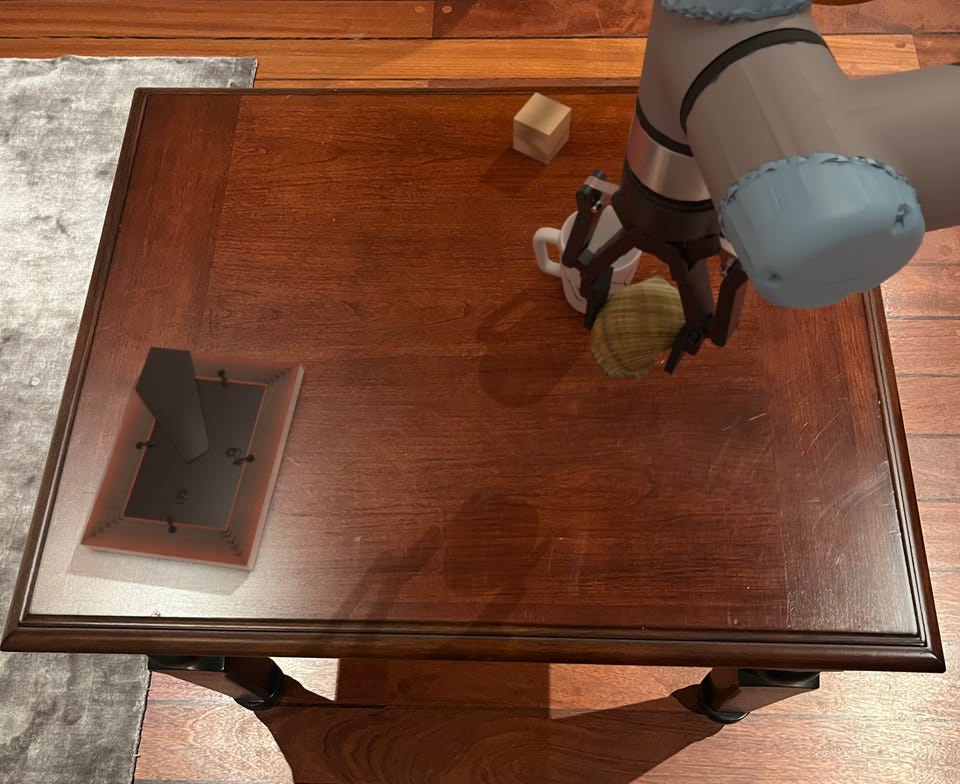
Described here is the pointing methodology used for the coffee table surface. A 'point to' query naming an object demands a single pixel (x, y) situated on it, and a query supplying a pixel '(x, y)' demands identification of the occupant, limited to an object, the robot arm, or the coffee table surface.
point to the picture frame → (196, 459)
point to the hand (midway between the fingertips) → (634, 338)
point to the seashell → (636, 327)
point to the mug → (602, 234)
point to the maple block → (541, 128)
